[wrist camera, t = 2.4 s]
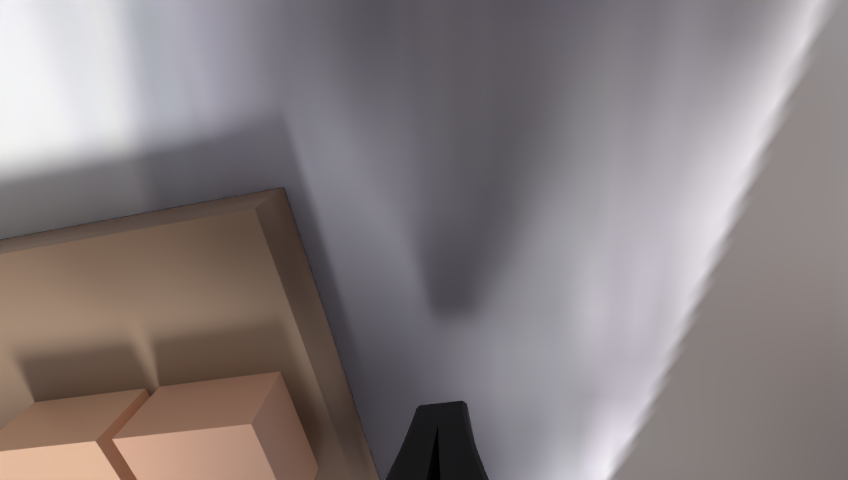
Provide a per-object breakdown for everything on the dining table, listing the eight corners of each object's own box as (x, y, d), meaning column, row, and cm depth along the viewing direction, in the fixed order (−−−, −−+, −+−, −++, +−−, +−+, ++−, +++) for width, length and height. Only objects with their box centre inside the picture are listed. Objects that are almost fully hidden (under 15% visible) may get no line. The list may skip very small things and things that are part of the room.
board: (389, 508, 18) (382, 560, 16) (132, 528, 19) (98, 578, 17) (283, 187, 12) (254, 208, 11) (-56, 249, 14) (-132, 277, 12)
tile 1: (318, 467, 14) (298, 528, 12) (208, 477, 15) (173, 537, 13) (280, 371, 13) (250, 424, 11) (159, 386, 13) (111, 439, 11)
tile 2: (195, 478, 15) (158, 538, 13) (93, 488, 15) (44, 547, 13) (145, 388, 13) (95, 441, 11) (34, 402, 14) (-31, 454, 12)
